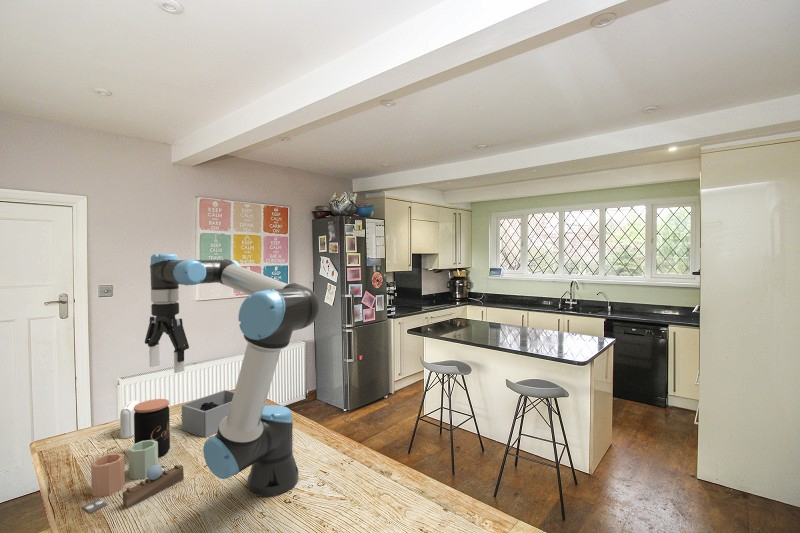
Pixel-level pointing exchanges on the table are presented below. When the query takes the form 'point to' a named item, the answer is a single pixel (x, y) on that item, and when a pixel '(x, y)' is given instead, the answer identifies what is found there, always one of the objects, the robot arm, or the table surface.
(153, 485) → the rack
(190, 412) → the box
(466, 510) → the table surface
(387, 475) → the table surface
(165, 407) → the coffee jar
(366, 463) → the table surface
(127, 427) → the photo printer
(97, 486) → the tubes
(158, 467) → the blue ball
